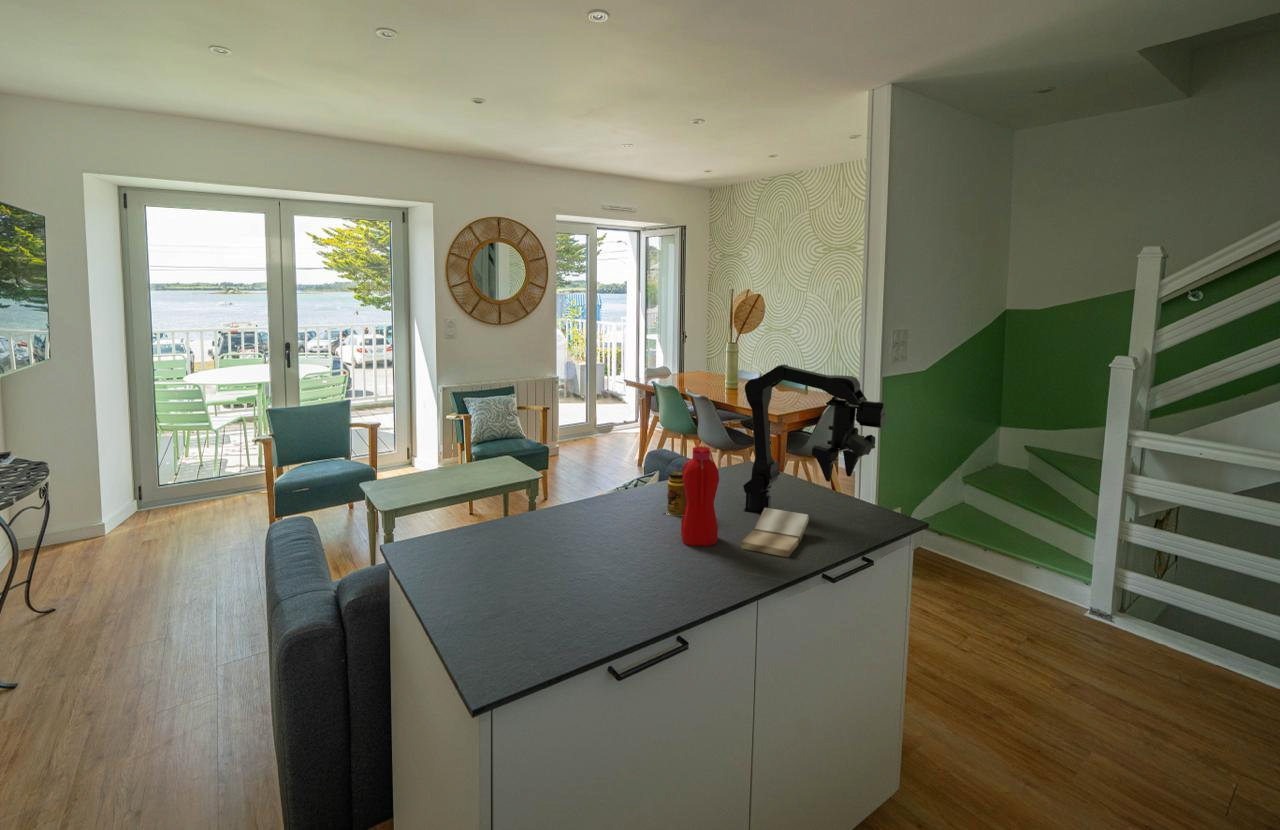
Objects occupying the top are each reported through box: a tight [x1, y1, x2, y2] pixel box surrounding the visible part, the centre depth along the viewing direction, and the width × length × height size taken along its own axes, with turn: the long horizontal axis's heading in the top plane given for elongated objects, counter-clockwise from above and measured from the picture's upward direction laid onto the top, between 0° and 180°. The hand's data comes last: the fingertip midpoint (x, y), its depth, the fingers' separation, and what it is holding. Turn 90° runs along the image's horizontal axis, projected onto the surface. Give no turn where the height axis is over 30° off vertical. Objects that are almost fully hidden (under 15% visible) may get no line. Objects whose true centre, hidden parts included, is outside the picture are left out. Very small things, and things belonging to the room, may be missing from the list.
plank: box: [754, 508, 810, 543], centre depth 173 cm, size 12×9×2 cm
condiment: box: [665, 470, 686, 517], centre depth 191 cm, size 7×8×12 cm
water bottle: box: [680, 446, 720, 547], centre depth 166 cm, size 9×11×25 cm
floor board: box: [740, 528, 800, 558], centre depth 165 cm, size 12×10×2 cm
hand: (838, 478), depth 178 cm, fingers open, 9 cm apart
